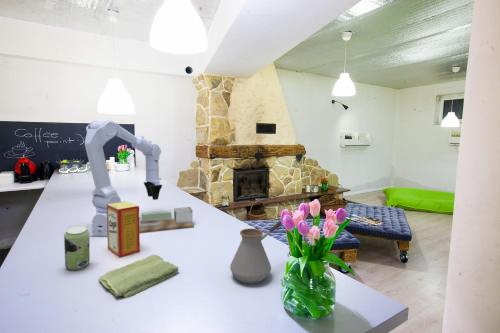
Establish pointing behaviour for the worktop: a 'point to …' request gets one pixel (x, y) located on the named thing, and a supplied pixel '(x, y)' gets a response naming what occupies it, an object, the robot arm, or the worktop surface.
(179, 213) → the end caps
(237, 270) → the coffee pot
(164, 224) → the board
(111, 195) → the robot arm
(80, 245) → the beverage can
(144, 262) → the washcloth
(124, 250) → the baking soda box
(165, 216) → the green long rectangular block
